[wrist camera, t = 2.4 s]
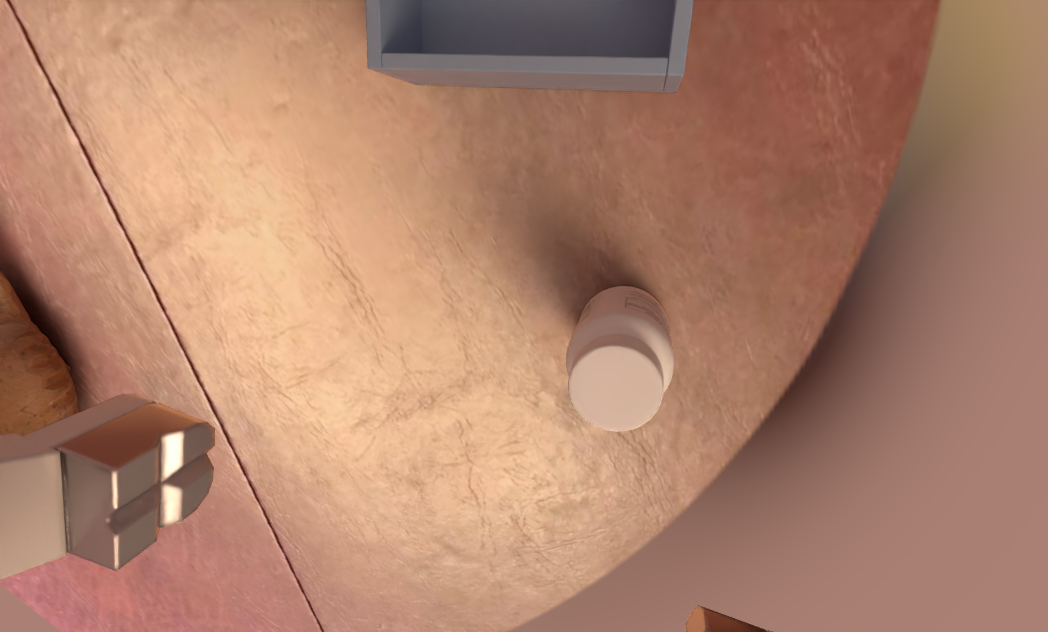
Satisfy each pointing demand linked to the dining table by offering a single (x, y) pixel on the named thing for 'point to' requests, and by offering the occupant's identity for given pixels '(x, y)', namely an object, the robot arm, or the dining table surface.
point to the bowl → (29, 372)
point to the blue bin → (531, 43)
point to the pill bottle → (620, 359)
